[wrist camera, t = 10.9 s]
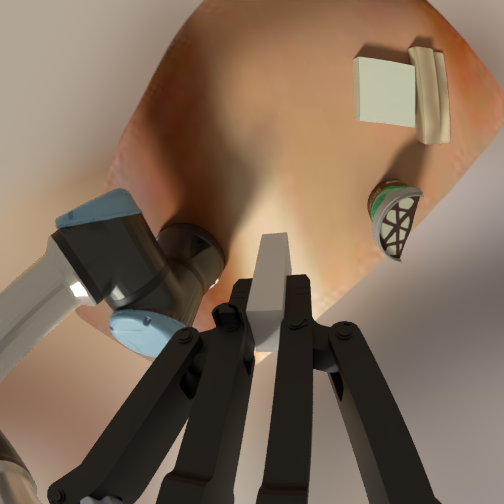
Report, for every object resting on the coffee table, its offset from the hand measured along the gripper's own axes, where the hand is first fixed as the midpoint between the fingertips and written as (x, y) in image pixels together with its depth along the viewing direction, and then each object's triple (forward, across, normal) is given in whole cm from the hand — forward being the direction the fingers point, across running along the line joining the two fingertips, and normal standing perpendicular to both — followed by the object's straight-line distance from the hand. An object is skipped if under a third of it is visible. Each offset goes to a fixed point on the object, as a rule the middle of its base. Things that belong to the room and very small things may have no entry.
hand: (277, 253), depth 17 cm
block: (+31, +17, +9) cm, 36 cm away
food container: (+31, +15, -10) cm, 36 cm away
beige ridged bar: (+30, +26, +9) cm, 41 cm away
